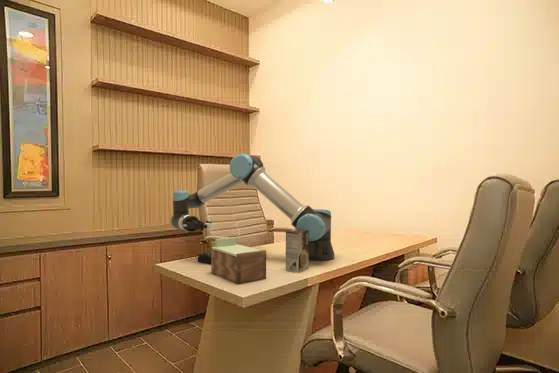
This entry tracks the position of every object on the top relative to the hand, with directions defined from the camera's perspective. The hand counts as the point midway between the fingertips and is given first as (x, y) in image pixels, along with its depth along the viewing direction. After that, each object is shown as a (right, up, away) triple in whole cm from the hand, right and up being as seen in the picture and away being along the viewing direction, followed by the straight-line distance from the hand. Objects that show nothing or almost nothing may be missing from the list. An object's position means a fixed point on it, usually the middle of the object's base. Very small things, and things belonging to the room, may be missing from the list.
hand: (212, 227), depth 149 cm
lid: (+13, -7, -16) cm, 22 cm away
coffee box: (+36, -17, -6) cm, 40 cm away
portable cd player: (+4, -17, +8) cm, 19 cm away
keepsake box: (+13, -16, -17) cm, 27 cm away
